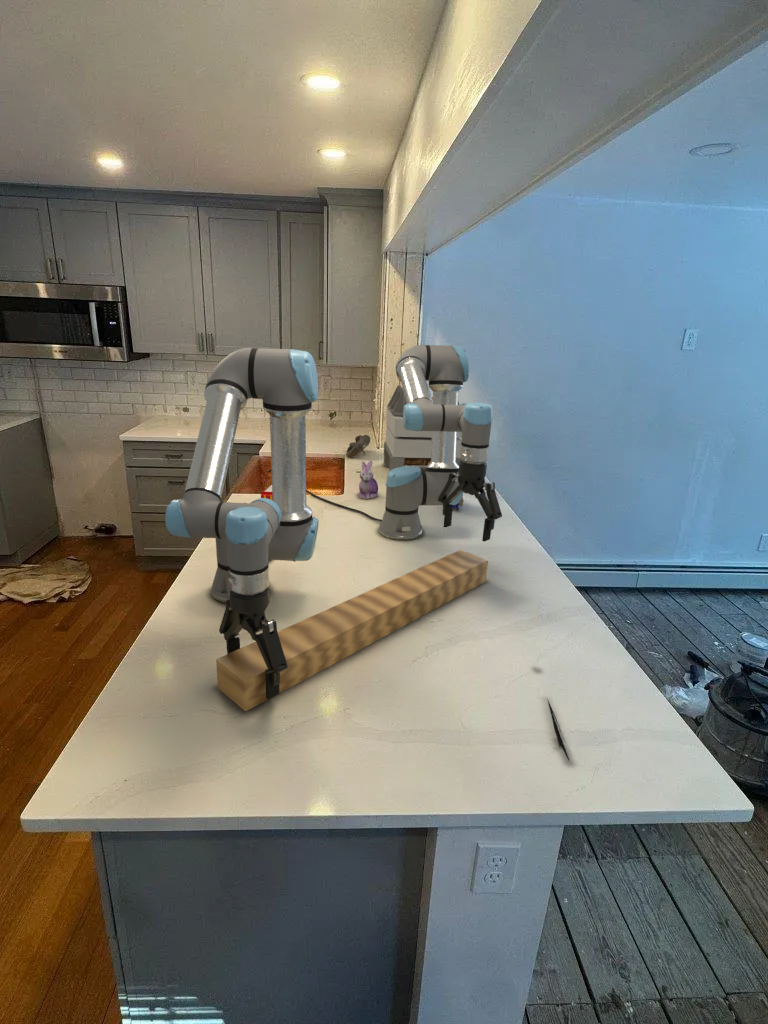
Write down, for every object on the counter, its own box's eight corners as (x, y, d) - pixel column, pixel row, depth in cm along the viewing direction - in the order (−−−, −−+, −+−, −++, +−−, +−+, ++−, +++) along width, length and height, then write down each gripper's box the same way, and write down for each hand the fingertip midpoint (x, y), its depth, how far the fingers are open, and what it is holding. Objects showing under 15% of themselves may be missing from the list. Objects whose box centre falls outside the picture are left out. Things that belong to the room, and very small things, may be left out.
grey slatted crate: (382, 463, 289) (386, 382, 275) (445, 464, 293) (451, 384, 279) (390, 482, 257) (394, 392, 243) (460, 483, 261) (468, 394, 247)
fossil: (346, 440, 314) (367, 425, 309) (357, 454, 317) (378, 439, 312) (340, 454, 295) (362, 438, 290) (351, 468, 298) (374, 453, 293)
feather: (537, 674, 127) (543, 668, 127) (569, 765, 101) (576, 758, 100) (531, 670, 127) (536, 664, 126) (561, 760, 100) (568, 753, 100)
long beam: (458, 570, 174) (460, 549, 171) (485, 581, 167) (488, 560, 165) (217, 688, 116) (215, 659, 114) (245, 711, 110) (244, 681, 108)
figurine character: (463, 515, 225) (458, 499, 238) (465, 497, 221) (460, 482, 235) (446, 514, 224) (442, 498, 238) (448, 497, 221) (444, 482, 235)
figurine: (363, 500, 232) (364, 465, 227) (352, 493, 240) (353, 459, 235) (383, 498, 236) (385, 463, 231) (372, 491, 244) (373, 457, 239)
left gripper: (197, 572, 114) (204, 662, 121) (272, 618, 98) (274, 719, 105) (230, 561, 120) (234, 648, 127) (305, 604, 104) (306, 701, 111)
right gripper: (429, 453, 160) (424, 524, 167) (505, 473, 144) (496, 549, 151) (445, 450, 165) (439, 518, 172) (520, 468, 149) (511, 542, 156)
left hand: (253, 680), depth 116 cm, fingers open, 13 cm apart
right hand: (466, 533), depth 162 cm, fingers open, 13 cm apart
